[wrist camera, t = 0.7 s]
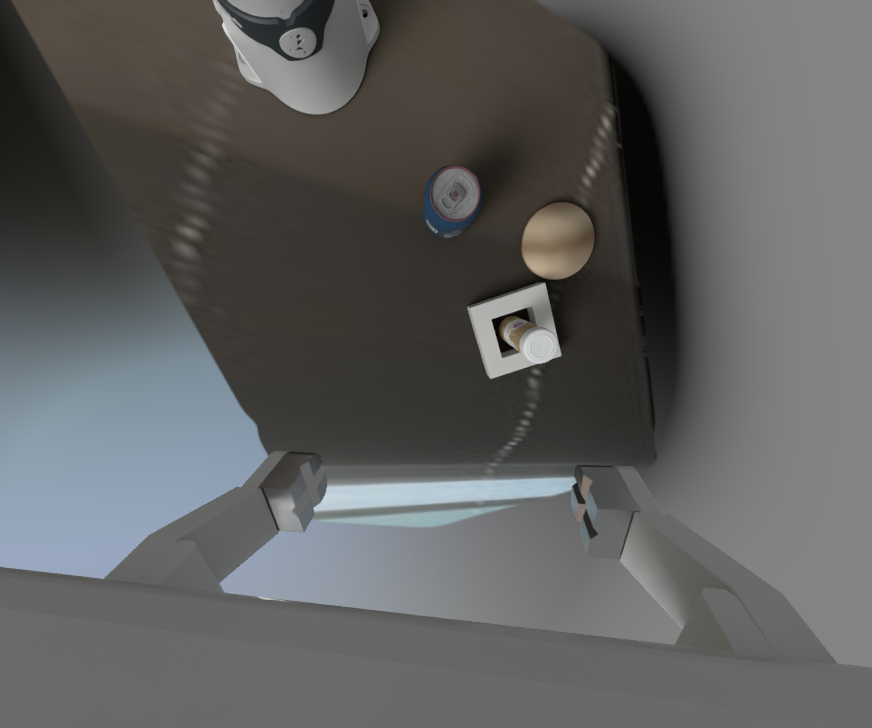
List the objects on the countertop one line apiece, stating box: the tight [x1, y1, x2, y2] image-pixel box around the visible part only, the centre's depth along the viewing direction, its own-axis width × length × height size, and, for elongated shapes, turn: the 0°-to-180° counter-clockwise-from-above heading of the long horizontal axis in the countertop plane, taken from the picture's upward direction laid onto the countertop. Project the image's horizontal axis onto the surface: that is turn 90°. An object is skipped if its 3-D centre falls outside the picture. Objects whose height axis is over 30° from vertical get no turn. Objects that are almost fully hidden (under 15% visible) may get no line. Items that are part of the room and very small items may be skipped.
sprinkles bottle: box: [499, 316, 558, 363], centre depth 46 cm, size 5×5×14 cm
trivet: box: [521, 202, 594, 279], centre depth 48 cm, size 11×11×1 cm
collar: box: [467, 283, 561, 379], centre depth 51 cm, size 12×12×3 cm
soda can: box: [424, 165, 483, 238], centre depth 41 cm, size 7×7×12 cm
